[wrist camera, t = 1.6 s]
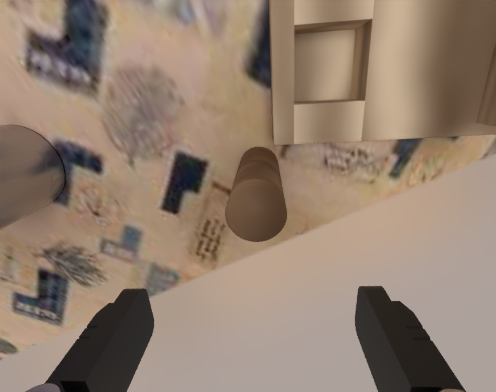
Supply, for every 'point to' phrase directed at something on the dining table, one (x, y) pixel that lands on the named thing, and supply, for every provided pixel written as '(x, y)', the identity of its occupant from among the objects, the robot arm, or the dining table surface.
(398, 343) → the robot arm
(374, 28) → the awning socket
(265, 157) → the peg
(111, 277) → the dining table surface
